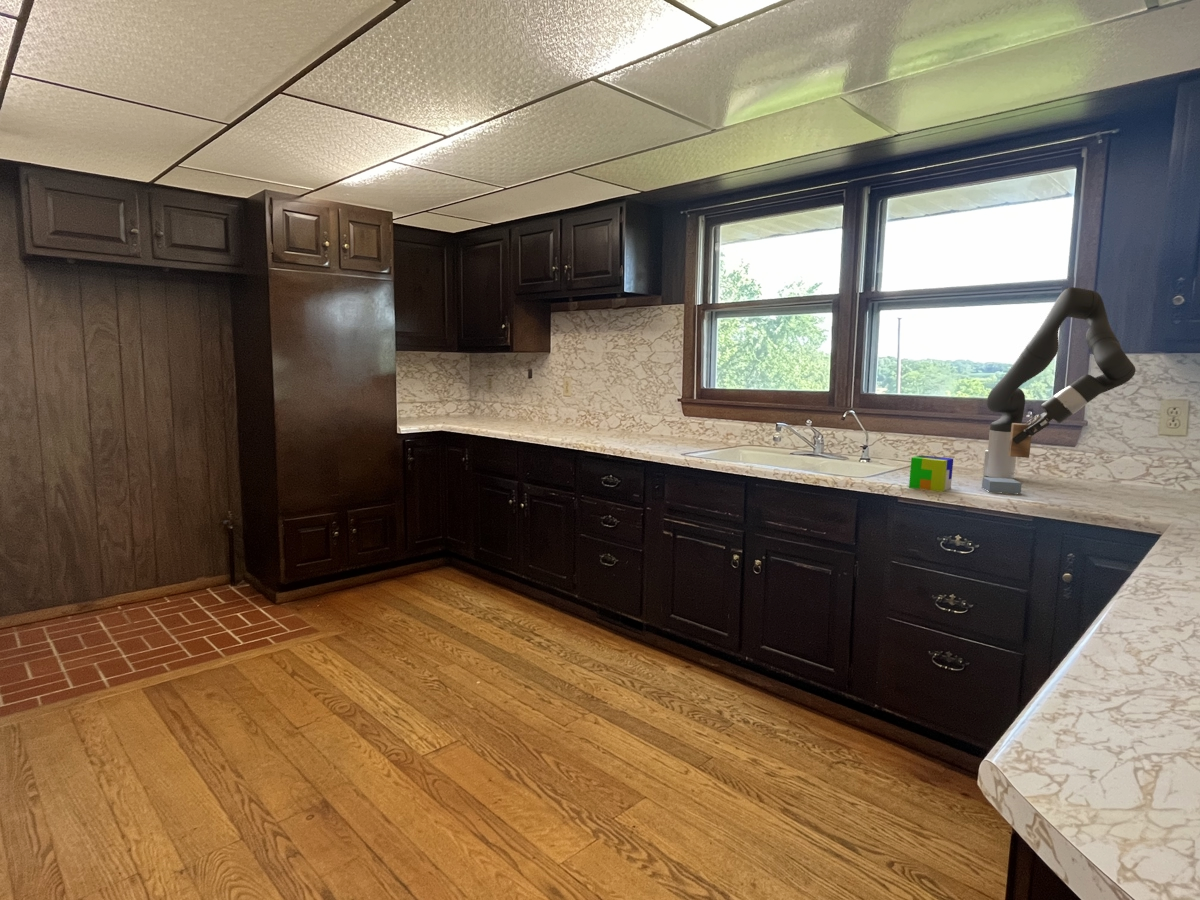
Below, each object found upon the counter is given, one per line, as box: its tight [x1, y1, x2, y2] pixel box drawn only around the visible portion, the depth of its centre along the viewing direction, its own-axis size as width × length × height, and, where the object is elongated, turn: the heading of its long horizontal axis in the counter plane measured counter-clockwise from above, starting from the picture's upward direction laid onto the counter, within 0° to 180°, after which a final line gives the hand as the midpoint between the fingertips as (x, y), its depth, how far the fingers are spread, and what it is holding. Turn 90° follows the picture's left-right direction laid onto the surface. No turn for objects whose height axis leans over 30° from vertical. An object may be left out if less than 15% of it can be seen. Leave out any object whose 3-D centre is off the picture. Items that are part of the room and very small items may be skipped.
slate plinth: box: [981, 476, 1023, 495], centre depth 220 cm, size 9×9×4 cm
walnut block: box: [1008, 423, 1033, 459], centre depth 209 cm, size 5×5×10 cm
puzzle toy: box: [908, 455, 954, 493], centre depth 223 cm, size 10×10×10 cm
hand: (1013, 440), depth 209 cm, fingers closed on walnut block, 5 cm apart
